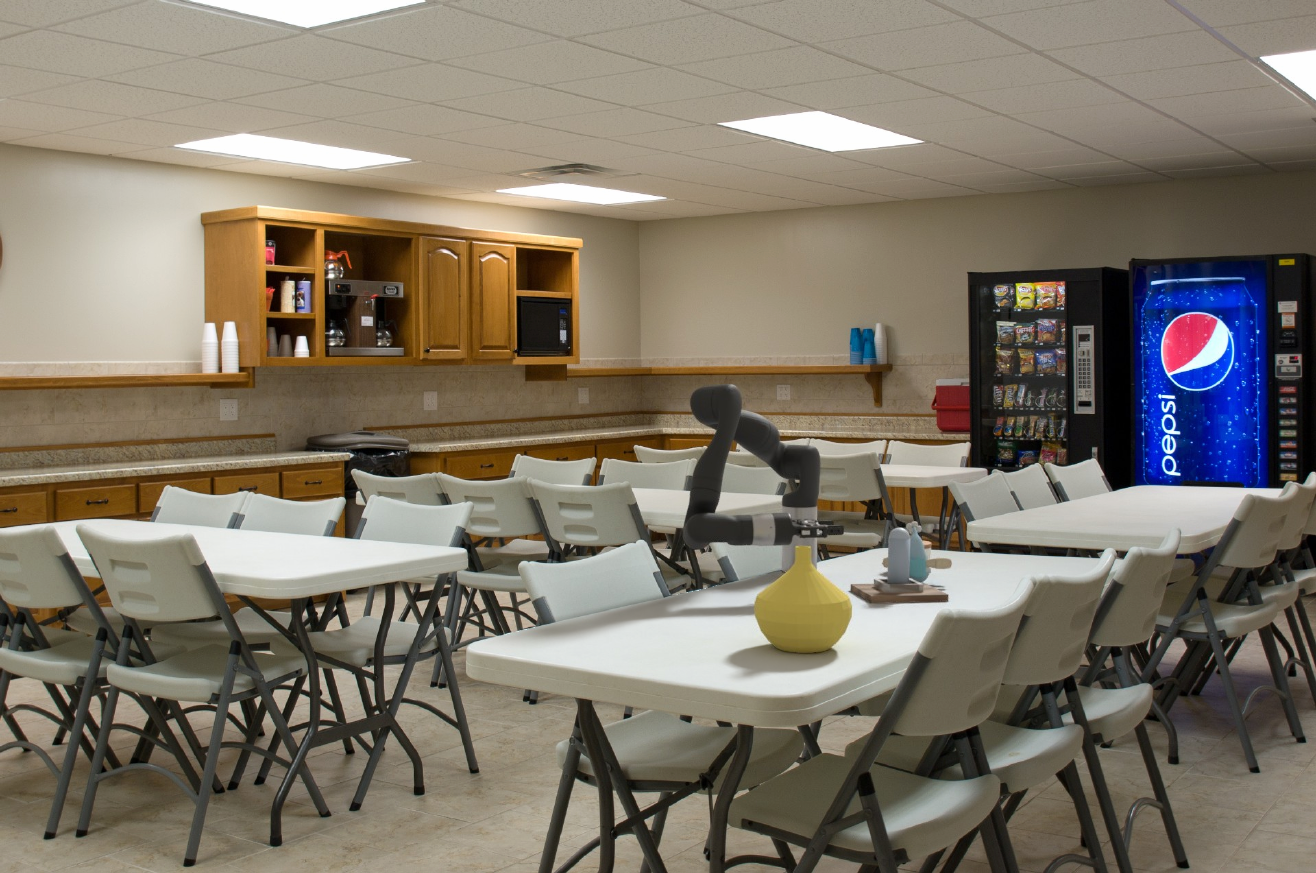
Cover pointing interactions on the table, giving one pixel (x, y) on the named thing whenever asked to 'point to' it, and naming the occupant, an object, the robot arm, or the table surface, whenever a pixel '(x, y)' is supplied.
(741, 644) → the table surface
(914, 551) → the teal toy airplane
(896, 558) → the grey rounded-top cylinder
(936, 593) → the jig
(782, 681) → the table surface
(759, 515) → the robot arm
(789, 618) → the vase
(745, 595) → the table surface
